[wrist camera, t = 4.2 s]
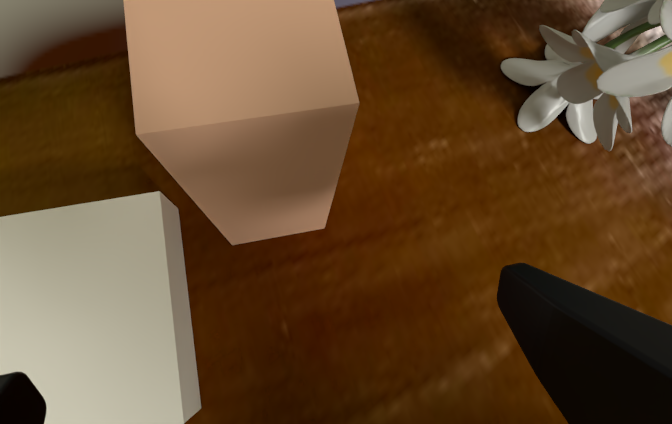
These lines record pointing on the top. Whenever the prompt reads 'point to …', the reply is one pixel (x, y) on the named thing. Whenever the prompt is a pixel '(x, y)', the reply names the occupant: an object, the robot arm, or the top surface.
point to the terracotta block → (245, 107)
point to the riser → (100, 311)
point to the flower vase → (598, 72)
